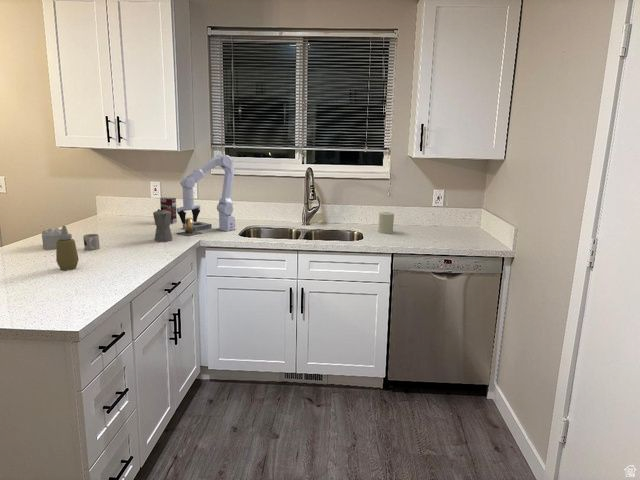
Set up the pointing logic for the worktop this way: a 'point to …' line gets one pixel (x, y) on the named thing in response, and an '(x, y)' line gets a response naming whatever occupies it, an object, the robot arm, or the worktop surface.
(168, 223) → the coffeepot
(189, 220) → the end cap
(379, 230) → the can
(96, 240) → the mug
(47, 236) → the lumpy-topped squat cylinder
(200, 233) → the mat
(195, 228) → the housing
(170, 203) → the supplement box
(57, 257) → the squeeze bottle
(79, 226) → the worktop surface
